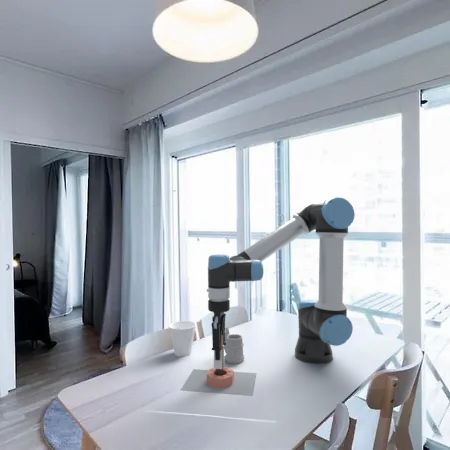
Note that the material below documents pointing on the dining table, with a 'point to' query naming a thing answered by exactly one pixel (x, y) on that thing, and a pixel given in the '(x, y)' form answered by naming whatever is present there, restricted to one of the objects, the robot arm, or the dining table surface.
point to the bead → (220, 378)
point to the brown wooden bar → (220, 371)
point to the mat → (240, 386)
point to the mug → (233, 348)
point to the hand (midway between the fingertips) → (219, 366)
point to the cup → (182, 337)
